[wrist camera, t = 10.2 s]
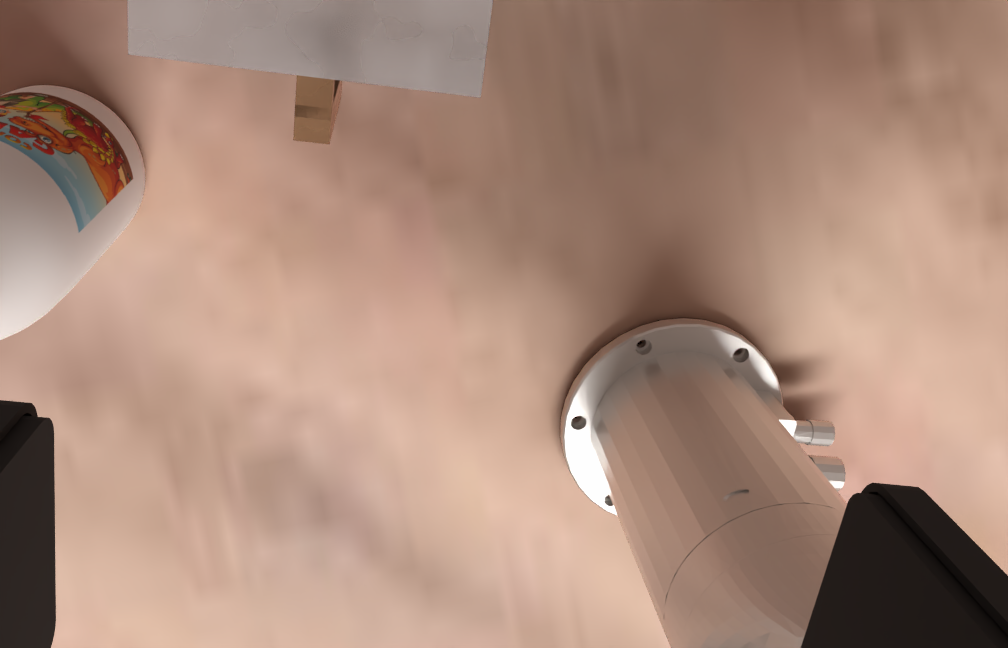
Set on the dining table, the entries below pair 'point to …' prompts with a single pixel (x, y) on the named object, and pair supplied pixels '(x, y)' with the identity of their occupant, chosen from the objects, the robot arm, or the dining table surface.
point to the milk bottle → (59, 195)
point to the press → (323, 45)
